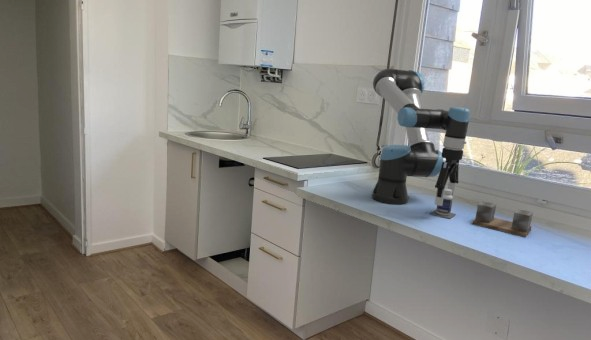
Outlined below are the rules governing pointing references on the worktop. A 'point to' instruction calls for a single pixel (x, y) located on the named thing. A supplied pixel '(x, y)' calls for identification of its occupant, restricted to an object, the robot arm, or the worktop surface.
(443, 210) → the pill bottle
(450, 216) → the pad
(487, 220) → the board with two blocks
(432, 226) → the worktop surface
